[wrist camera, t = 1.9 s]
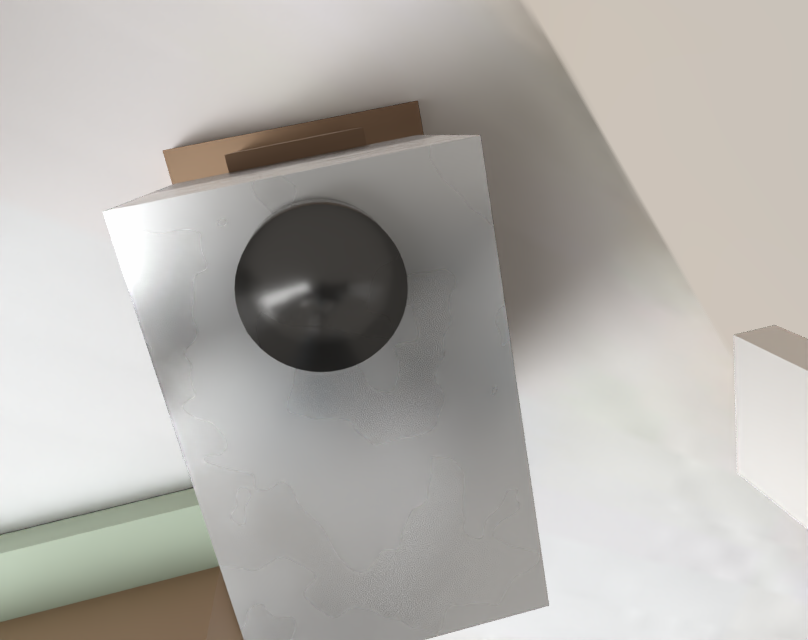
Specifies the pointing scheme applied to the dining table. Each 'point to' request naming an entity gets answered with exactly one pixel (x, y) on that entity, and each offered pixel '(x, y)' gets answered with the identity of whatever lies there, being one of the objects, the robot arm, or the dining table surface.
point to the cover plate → (344, 389)
